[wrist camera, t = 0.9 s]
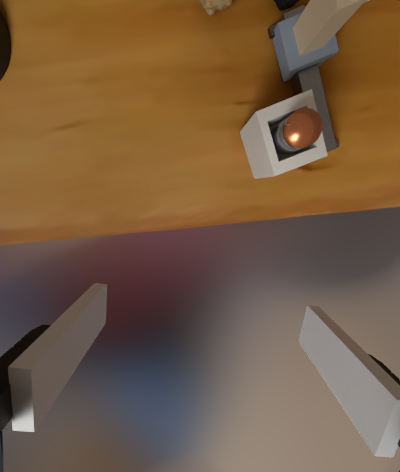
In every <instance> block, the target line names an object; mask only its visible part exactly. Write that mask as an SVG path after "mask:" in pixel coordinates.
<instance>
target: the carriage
mask: <svg viewBox="0 0 400 472" xmlns="http://www.w3.org/2000/svg"><path fill="white" fill-rule="evenodd" d="M368 1H370V0H310V1H309V2H308V4H307V6H306V7H305V9H304V11H303V12H302V13H300V14H298V15H295V16H293V17H291V18H288V19H286V20H283V21H281V22H279V23H278V24H277V26H276V28H275V30H274V33H275V37H274V39H273V44H274V48H275V51H276V55H277V59H278V63H279V67H280V71H281V74H282V78H283V82H285V81H288V80H290V79H291V78H292V77H293V75H294V74H295V73H296V72H297V71H300V70H302V69H304V68H307V67H309V66H312V65H314V64H317V63H318V67H320V66H321V65H322V64H323V63H324V62H325V61H326V60H327V59H329V58H331V57H333V56H334V55H335V54H336V53H337V52H338V51H339V49H338V44H337V39H336V35H335V34H336V33H337V32H338V30H339V29H340V28H341V27H342V26H343V25H344V24H345V23H346V22H347V21H348V19H349V18H350V17H351V16H352V15H353V14H354V13H355V12H356V11H357V10H358V8H359V7H360V6H361V5H362V4H363V3H365V2H368Z"/></svg>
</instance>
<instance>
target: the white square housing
mask: <svg viewBox="0 0 400 472" xmlns="http://www.w3.org/2000/svg"><path fill="white" fill-rule="evenodd" d="M301 108H310V109H313V110H315V111H316V112H317V108H316V104H315V100H314V96H313V92H312V89H311V90H308V91H306V92H303V93H301V94H298V95H296V96H294V97H291V98H289V99H286V100H284V101H281V102H279V103H276V104H274V105H271V106H269V107H266V108H264V109H261V110H259V111H256V112H255V113H254V115H253V116H252V117H251V118H250V120H249V121H248V122H247V123H246V125H245V126H244V127H243V128H242V130H241V131H240V135H241V138H242V141H243V144H244V148H245V151H246V154H247V157H248V160H249V163H250V167H251V170H252V173H253V176H254V179H258V178H265V177H272V176H276V175H279V174H282V173H284V172H287V171H289V170H292V169H295V168H297V167H300V166H302V165H305V164H308V163H310V162H313V161H315V160H318V159H321V158H323V157H326V156H328V155H327V151H326V146H325V142H324V138H323V134H322V132H321V135H320V137H319V138H318V140H317V141H316V142H315V143H313V144H312V145H310V146H308V147H305V148H302V149H299V150H297V151H294V152H291V153H288V154H285V155H279V154H276V150H275V147H274V143H273V140H272V136H271V133H270V132H271V131H272V129H273V128H274V127H275V126H277V125H278V124H279V123H281V122H282V121H283V120H285V119H286V118H287V117H289V116H290V115H291V114H293V113H294V112H295V111H297V110H299V109H301Z"/></svg>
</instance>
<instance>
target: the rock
mask: <svg viewBox="0 0 400 472" xmlns="http://www.w3.org/2000/svg"><path fill="white" fill-rule="evenodd" d="M274 1H275V2H276V4H277V7H278V8H279V10H282V11H283V10H285V9H288V8H290V7H293V6H294V5H295V3H296V2H298V1H299V0H274Z"/></svg>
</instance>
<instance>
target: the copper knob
mask: <svg viewBox="0 0 400 472" xmlns="http://www.w3.org/2000/svg"><path fill="white" fill-rule="evenodd" d="M321 132H322V120H321V117H320V115H319V114H318V113H317V112H316V111H315V110H313V109H310V108H301V109H299V110H297V111H295V112H294V113H293V114H291V115H290V116H289V117H287V118H286V119H285V120H283V121H282V122H281V123H279V124H278V125H277V126H275V127H274V128H273V129H272V131H271V132H270V133H271V136H272V140H273V143H274V147H275V150H276V154H279V155H285V154H288V153H291V152H294V151H297V150H299V149H302V148H305V147H308V146H310V145H312V144H313V143H315V142H316V141H317V140H318V138H319V137H320V135H321Z"/></svg>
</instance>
